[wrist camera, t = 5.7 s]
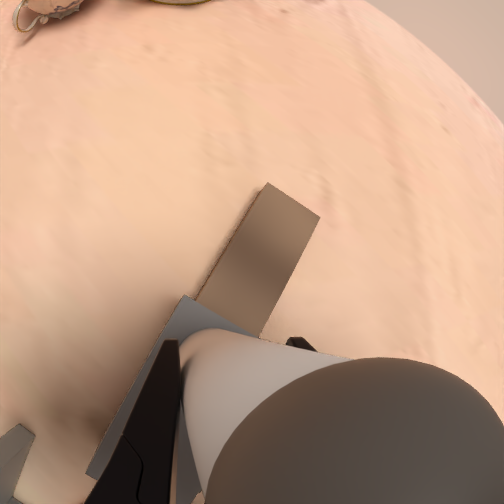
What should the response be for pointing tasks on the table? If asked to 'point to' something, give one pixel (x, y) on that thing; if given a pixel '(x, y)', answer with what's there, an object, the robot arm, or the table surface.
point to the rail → (259, 260)
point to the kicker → (317, 424)
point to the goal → (13, 460)
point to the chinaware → (69, 9)
